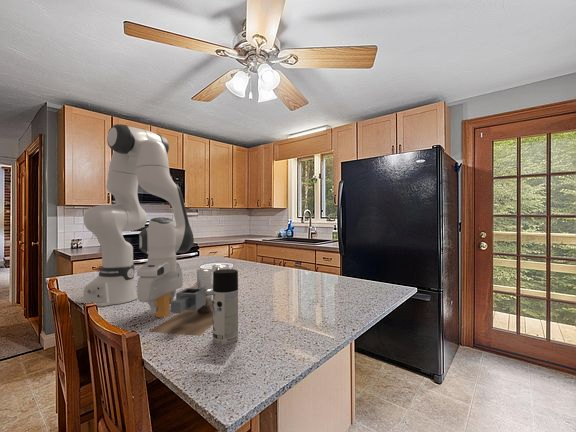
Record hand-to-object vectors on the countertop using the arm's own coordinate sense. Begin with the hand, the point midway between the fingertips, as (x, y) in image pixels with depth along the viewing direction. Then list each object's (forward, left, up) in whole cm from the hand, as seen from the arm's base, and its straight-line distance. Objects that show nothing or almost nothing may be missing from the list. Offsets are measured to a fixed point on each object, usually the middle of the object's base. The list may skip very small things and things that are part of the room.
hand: (162, 307), depth 99 cm
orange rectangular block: (0, 0, -4) cm, 4 cm away
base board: (+12, 0, -4) cm, 13 cm away
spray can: (+28, -14, -4) cm, 32 cm away
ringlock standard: (+12, 0, -3) cm, 12 cm away
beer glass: (+12, +20, -4) cm, 24 cm away
